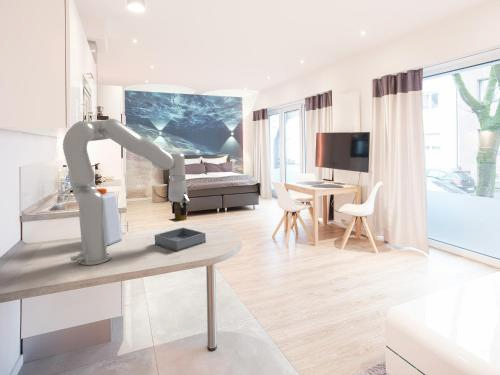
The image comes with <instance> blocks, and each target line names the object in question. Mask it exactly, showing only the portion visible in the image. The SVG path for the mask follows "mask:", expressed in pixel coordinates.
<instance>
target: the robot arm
mask: <svg viewBox="0 0 500 375" xmlns="http://www.w3.org/2000/svg"><path fill="white" fill-rule="evenodd" d="M109 139H110V140H111V141H113V142H114V143H116V144H118V145H119V146H121V147H122V148H124V149H125V150H127V151H129V152H130V153H132V154H133V155H138V156H140V157H143V158H144V159H147V160H149V161H150V163H151V164H152V166H153V168H155V169H158V170H163V171H168V170H169V182H168V197H167V198H168V201H169V202H170V205H171V213H172V215H173V214H174V215H175V212H174V202H180V204H181V208H180V210H181V215H186V214H187V215H188V212H187V213H186V208H187V207H188V205H189V203H190V199H189V197H188V195H189V193H188V186H187V182H186V181H187V180H186V164H185V163H186V162H185V154H183V153H168V152H167V151H165V149H163V148H161V147H159V146H158V145H157V144H155V143H153V142H152V141H150V140H148V139H146V138H145V137H143V136H141V135H140V134H138V133H137V132H135V131H134V130H132V129H131V128H130V127H128V126H126V125H125V124H124V123H123V122H121V121H119V120H117V118H116V119H115V118H107V119H105V120H104V119H103V120H98V121H86V120H80V121H77V122H75V123H74V124H73V125H72V126H70V128H69V129H68V130H67V131H66V133H65V135H64V137H63V141H62V149H63V155H64V159H65V162H66V165H67V169H68V173H67V177H68V181H69V183H70V187H71V189H72V193H73V195H74V198H75V201H76V203H77V204H78V214H79V227H80V239H81V249H82V251H79V253H78V255H73V256H70V262H75V261H76V262H79V264H81V265H83V266H95V265H100V264H104V263H106V262H108V261H110V260H111V259H112V255H111V253H107V252H108V250H107V246H106V235H105V224H104V200H103V197H102V195H101V193H100V192H99V191H97V189H98V188H97V186H96V183H95V177H96V176H95V170H94V169H93V167H92V164H91V160H90V157H89V153H88V143H89V142H95V141H103V140H109ZM183 200H184V201H183ZM182 202H184V204H183V203H182Z"/></svg>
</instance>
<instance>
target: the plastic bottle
mask: <svg viewBox="0 0 500 375" xmlns="http://www.w3.org/2000/svg"><path fill="white" fill-rule="evenodd" d="M97 191H99V192H100V193H101V195H102V197H103V200H104V224H105V235H106V247H108V246H110V245H111V246H112V245H113V244H115V243H118V242H120V241H122V239H123V233H122V225H121V219H120V218H121V217H120V214H119V213H120V212H119V207H118V206H119V205H118V198H117V195H116V193H110V192H108V191H107V189H106V188H101V187H100V188H97Z"/></svg>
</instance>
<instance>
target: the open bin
mask: <svg viewBox="0 0 500 375" xmlns="http://www.w3.org/2000/svg"><path fill="white" fill-rule="evenodd" d="M206 237H207V236H206V232H203V231H200V230H199V231H198V230H194V229H190V228H187V227H180V228H176V229H172V230H168V231H165V232H160V233H157V234H154V245H155V246H158V247H162V248H164V249H167V250H169V251H170V250H171V251H174V252H177V253H179V252H181V251H183V250H188V249H190V248H193V247H196V246H200V245H202V244H205V243H206V242H207V240H206Z"/></svg>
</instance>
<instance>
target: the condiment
mask: <svg viewBox="0 0 500 375" xmlns="http://www.w3.org/2000/svg"><path fill="white" fill-rule="evenodd" d="M183 201H184V200H183ZM182 203H183V204H184V202H182ZM180 208H181V204H180V202H174V212H175V213H174V218H168V221H171V222H174V223H178V222H182V221H183V222H184V221H188V220H190V218H188V212H187V211H188V210H187V207H186V213H187V214H186V215H181V210H180Z"/></svg>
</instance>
